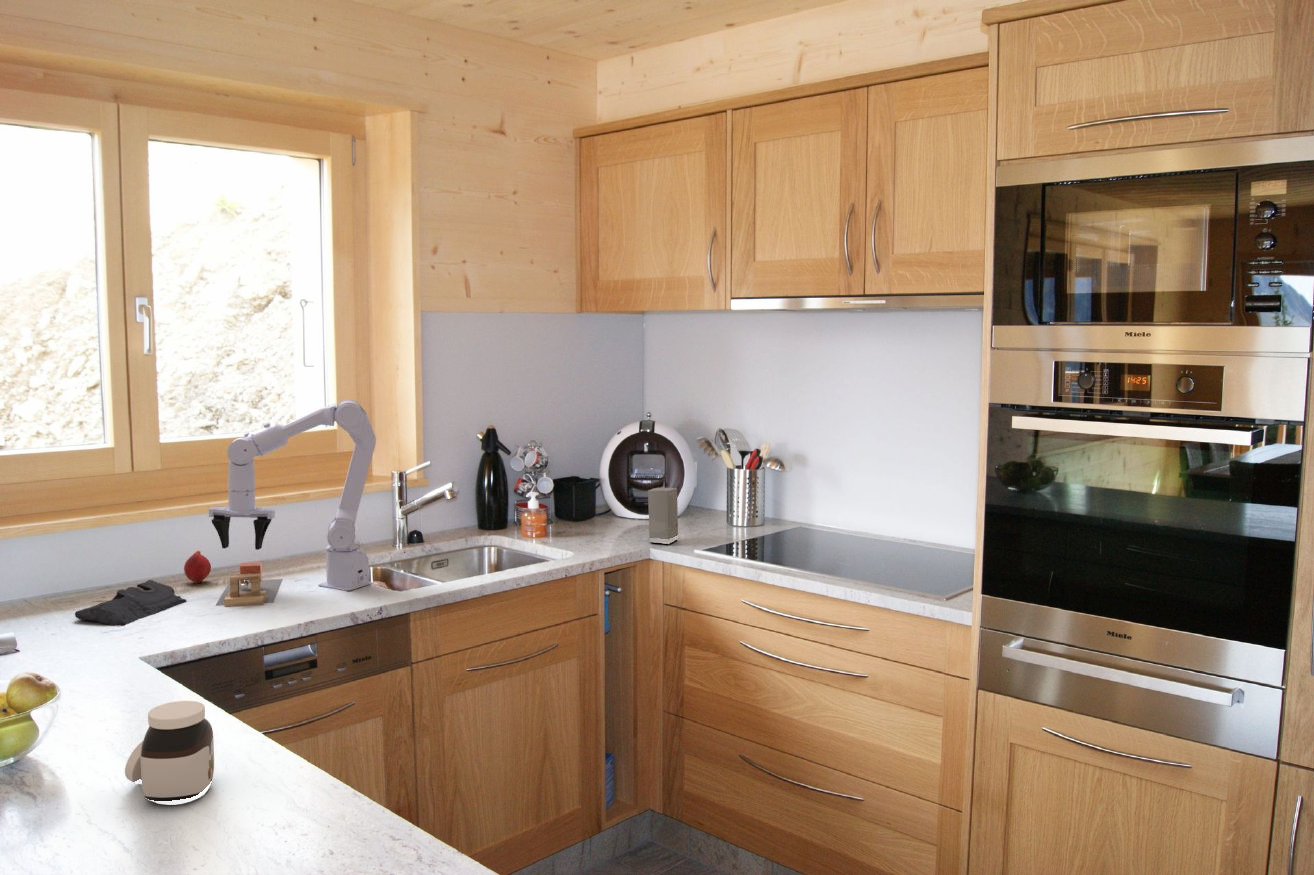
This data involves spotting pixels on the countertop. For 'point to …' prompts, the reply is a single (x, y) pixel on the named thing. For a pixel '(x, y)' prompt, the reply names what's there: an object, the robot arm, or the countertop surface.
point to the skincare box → (663, 513)
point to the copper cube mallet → (250, 572)
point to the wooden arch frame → (245, 597)
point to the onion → (197, 567)
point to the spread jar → (174, 752)
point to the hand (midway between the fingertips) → (242, 548)
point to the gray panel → (265, 585)
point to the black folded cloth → (132, 604)
